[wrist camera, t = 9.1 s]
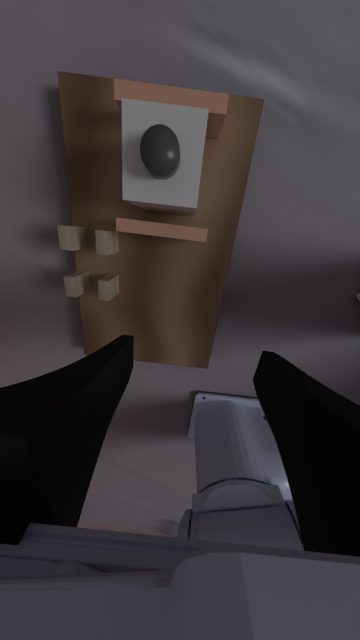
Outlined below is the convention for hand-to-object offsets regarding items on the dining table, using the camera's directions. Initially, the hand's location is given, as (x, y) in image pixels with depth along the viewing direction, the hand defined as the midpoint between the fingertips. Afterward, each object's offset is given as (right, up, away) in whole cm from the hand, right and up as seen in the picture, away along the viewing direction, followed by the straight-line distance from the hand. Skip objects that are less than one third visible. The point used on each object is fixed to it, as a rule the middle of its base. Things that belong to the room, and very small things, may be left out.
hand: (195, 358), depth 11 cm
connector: (-2, +12, +3) cm, 13 cm away
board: (-3, +8, +7) cm, 11 cm away
